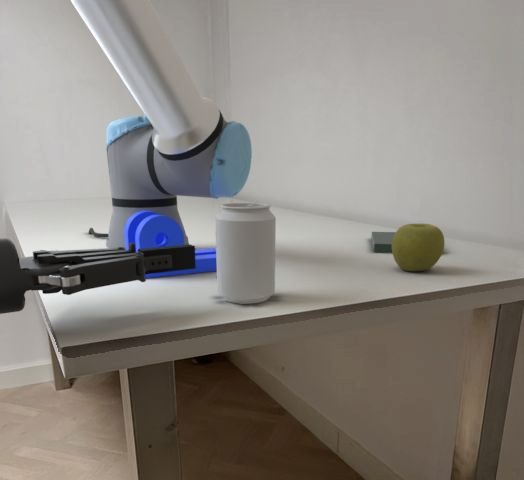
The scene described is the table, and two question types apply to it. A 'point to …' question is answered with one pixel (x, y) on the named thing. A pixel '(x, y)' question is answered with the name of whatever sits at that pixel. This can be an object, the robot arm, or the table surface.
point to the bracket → (164, 240)
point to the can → (245, 252)
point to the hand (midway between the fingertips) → (192, 256)
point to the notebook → (382, 241)
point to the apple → (417, 246)
